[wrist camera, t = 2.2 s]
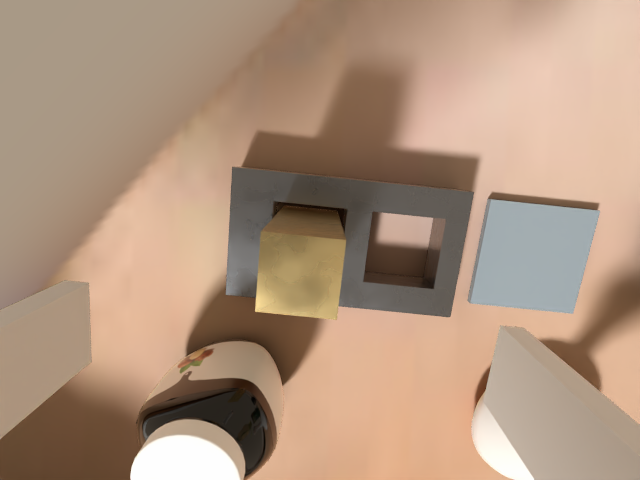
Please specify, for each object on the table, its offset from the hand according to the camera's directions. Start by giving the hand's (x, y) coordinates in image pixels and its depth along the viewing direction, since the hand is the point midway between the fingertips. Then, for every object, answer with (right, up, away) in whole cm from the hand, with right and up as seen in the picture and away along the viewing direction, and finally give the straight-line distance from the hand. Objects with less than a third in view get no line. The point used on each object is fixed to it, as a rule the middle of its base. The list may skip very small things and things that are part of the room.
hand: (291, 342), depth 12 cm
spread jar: (-8, -11, +23) cm, 26 cm away
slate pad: (+19, +2, +19) cm, 27 cm away
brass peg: (0, +4, +19) cm, 20 cm away
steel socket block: (+3, +4, +19) cm, 20 cm away
